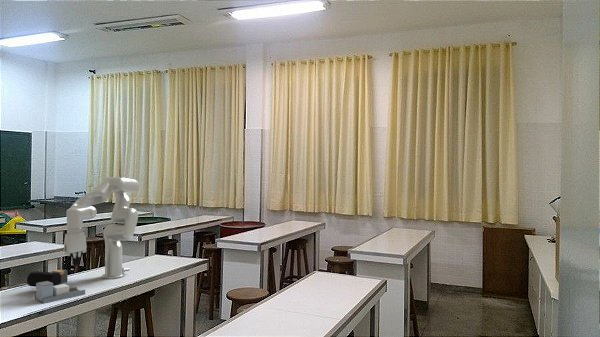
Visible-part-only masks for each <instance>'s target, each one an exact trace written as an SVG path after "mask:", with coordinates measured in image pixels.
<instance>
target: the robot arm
mask: <svg viewBox="0 0 600 337" xmlns="http://www.w3.org/2000/svg"><path fill="white" fill-rule="evenodd" d="M139 189H140V182H139V181H138V180H137V179H134V178H127V177H123V176H122V177H121V176H109V177H106V178H105V179H103V181H102V182H100V183H99V185H98V186H97V187H96V188H95V189H94V190H93V191H91V192H89V193H86V194H85V195H83V196H80V197H79V198H78V199H76V201H75V202H74V203H73V204H72V205H71V206H70V208H68V209H67V210H66V211H65V212H66V214H65V215H66V233H65V234H64V235H65V236H64V241H63V251H64V256H67V257H71V259H72V264H73V266H79V265H80V262H81V260H80V258H81V256H82V255H83V254H84V253H87V248H88V247H87V238H86V234H85V232H84V231H85V230H86V227H84V222H83V221H85V220H92V219H94V218H95V217H96V216H97V213H98V212H97V208H96V207H95V205H99V204H102V203H104V202H106V201H107V200H108V198H109V197H110V196H111V195H112V194H113V193H114V196H115V203H114V206H113V209H112V213H111V216H110V218H111V221H112V222H113V223H115V224H113V223H111V224H108V225H106V226H105V227H104V229H103V239H104V245H105V248H104V252H105V253H104V273H103V274H102V275H101V278H103V279H106V280H107V279H108V280H110V279H111V280H112V279H113V280H114V279H119V278H123V277H124V276H126V275H125V272H129V271H130V267H126V268H125V267H123V244H122V242H121V241H125V242H127V241H131V239H132V238H133V237H134V234H135V231H136V227H137V224H138V220H139V213H138V210H137V209H136V208H133V207H130V205H131V199H130V196H129V195H128V194H134V193H137V192H138V191H139Z"/></svg>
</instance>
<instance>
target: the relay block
mask: <svg viewBox="0 0 600 337" xmlns="http://www.w3.org/2000/svg"><path fill="white" fill-rule="evenodd" d="M51 272H53V273H59V274H60V275H61V283H60V284H59V285H61V284H67V283H68V274H69V273H68V272H69V271H68V269H67V270H66V269H61V268H60V269H55V270H52V271H51Z"/></svg>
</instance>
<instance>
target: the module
mask: <svg viewBox="0 0 600 337" xmlns="http://www.w3.org/2000/svg"><path fill="white" fill-rule="evenodd" d="M69 288H70V285H68V284H67V283H64V284H60V285H55V286H53V296H57V295H62V294H66V293H69Z"/></svg>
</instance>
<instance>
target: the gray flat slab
mask: <svg viewBox="0 0 600 337" xmlns="http://www.w3.org/2000/svg"><path fill="white" fill-rule="evenodd" d="M83 295H86V289H82V290H81V289H78V286H72V287H69V293H66V294H62V295H57V296H52V297H48V298H43V299H42V301H41V300H39V299H37V298H36V294H35V295H34V300H35V301H37V302H40V303H41V304H43V305H44V304H48V303H51V302H56V301H60V300H66V299H70V298H73V297H79V296H83Z"/></svg>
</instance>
